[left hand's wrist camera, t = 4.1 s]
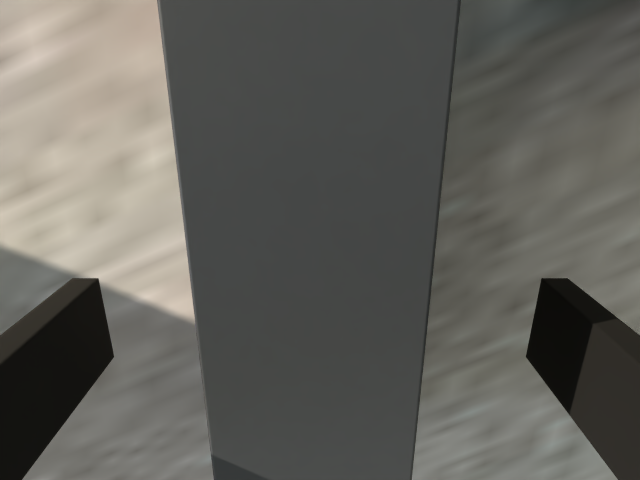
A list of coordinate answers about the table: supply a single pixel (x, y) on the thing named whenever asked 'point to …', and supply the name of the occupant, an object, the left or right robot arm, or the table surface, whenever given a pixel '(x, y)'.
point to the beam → (310, 223)
